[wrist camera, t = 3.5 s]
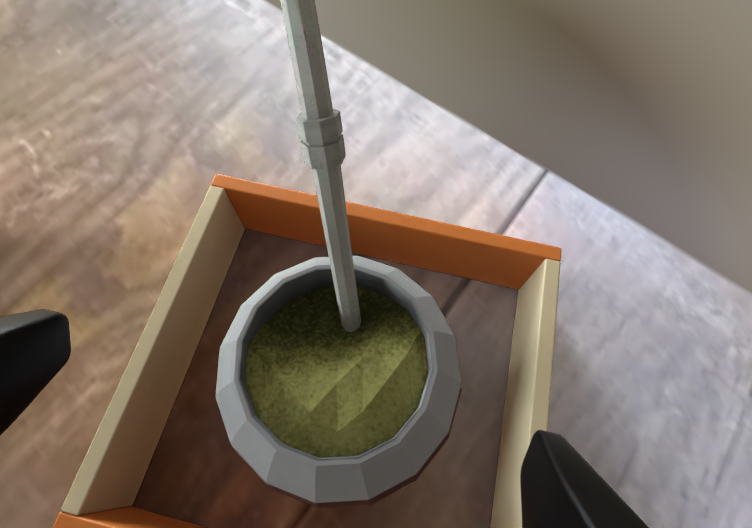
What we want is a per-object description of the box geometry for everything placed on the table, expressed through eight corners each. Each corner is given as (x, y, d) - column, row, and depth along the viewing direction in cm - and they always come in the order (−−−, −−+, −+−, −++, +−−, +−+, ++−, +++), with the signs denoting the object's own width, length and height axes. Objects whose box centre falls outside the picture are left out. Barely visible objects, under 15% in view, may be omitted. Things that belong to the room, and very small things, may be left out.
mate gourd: (352, 540, 16) (276, 921, 3) (211, 390, 18) (-240, 175, 5) (475, 384, 19) (770, 163, 5) (338, 266, 21) (281, -117, 7)
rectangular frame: (495, 629, 15) (529, 673, 12) (110, 520, 17) (48, 533, 13) (532, 281, 21) (562, 247, 17) (237, 215, 22) (215, 172, 19)
